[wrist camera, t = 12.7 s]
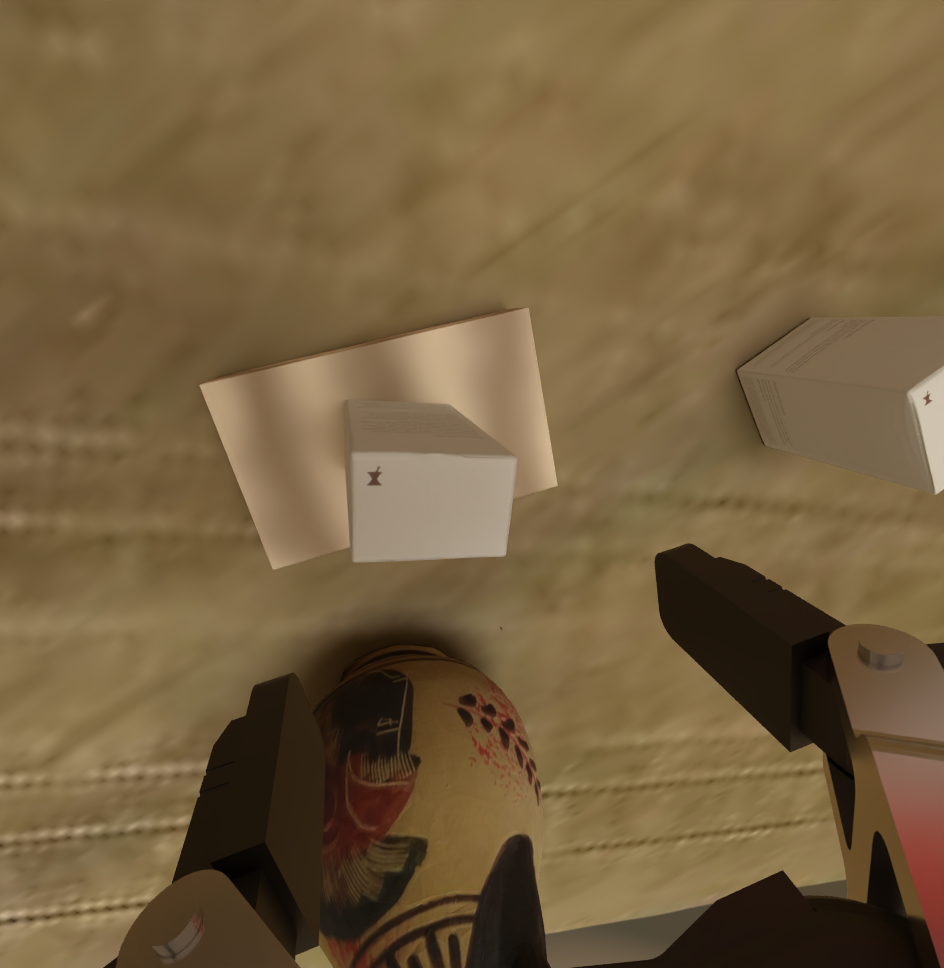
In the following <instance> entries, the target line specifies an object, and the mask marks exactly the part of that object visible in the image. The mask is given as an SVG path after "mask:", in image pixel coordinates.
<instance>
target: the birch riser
mask: <svg viewBox="0 0 944 968" xmlns="http://www.w3.org/2000/svg"><path fill="white" fill-rule="evenodd" d="M199 386H200V388H201V391H202V393H203V396H204V398H205V401H206V403H207V406H208V408H209V411H210V413H211V416H212V418H213V421H214V423H215V426H216V428H217V431H218V433H219V436H220V438H221V441H222V443H223V446H224V448H225V451H226V453H227V456H228V458H229V461H230V463H231V466H232V468H233V471H234V473H235V476H236V478H237V481H238V483H239V486H240V488H241V491H242V493H243V496H244V498H245V501H246V503H247V506H248V508H249V511H250V513H251V516H252V518H253V521H254V523H255V526H256V528H257V531H258V533H259V536H260V538H261V541H262V543H263V546H264V548H265V551H266V553H267V556H268V558H269V561H270V563H271V566H272V568H273V570H275V569H278V568H281V567H285V566H288V565H291V564H295V563H298V562H302V561H305V560H308V559H312V558H315V557H318V556H322V555H325V554H329V553H332V552H335V551H339V550H342V549H345V548H349V547H350V538H349V523H348V507H347V492H346V474H345V411H346V400H348V399H350V400H371V401H393V402H413V403H436V404H450V405H451V406H452V407H454V408H455V409H456V410H457V411H459V412H460V413H461V414H463V415H464V416H465V417H466V418H468V419H469V420H470V421H471V422H473V423H474V424H475V425H477V426H478V427H479V428H480V429H482V430H483V431H484V432H485V433H487V434H488V435H489V436H491V437H492V438H493V439H495V440H496V441H497V442H498V443H500V444H501V445H502V446H503V447H505V448H506V449H507V450H509V451H510V452H511V453H513V454H514V455H515V456H516V457H517V458H518V463H517V471H516V479H515V487H514V495H513V499H514V498H518V497H521V496H524V495H528V494H531V493H535V492H538V491H541V490H545V489H548V488H551V487H555V486H558V485H557V479H556V473H555V467H554V461H553V455H552V449H551V443H550V437H549V430H548V424H547V418H546V412H545V406H544V400H543V394H542V388H541V382H540V376H539V369H538V363H537V357H536V351H535V345H534V339H533V333H532V327H531V321H530V314H529V308H515V309H506V310H501V311H497V312H493V313H489V314H484V315H480V316H476V317H472V318H467V319H463V320H459V321H454V322H450V323H446V324H442V325H437V326H433V327H429V328H425V329H420V330H416V331H412V332H408V333H403V334H399V335H395V336H391V337H386V338H382V339H378V340H374V341H369V342H365V343H361V344H357V345H352V346H348V347H344V348H339V349H335V350H331V351H327V352H322V353H318V354H314V355H310V356H305V357H301V358H297V359H293V360H288V361H284V362H280V363H276V364H271V365H267V366H263V367H259V368H254V369H250V370H246V371H241V372H237V373H233V374H229V375H224V376H220V377H217V378H214V379H212V380H210V381H207V382H205V383H203V384H201V385H199Z"/></svg>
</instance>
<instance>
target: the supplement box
mask: <svg viewBox="0 0 944 968" xmlns="http://www.w3.org/2000/svg"><path fill="white" fill-rule="evenodd" d="M737 373H738V376H739V379H740V382H741V385H742V387H743V390H744V392H745V395H746V398H747V401H748V403H749V406H750V409H751V411H752V414H753V417H754V419H755V422H756V425H757V427H758V430H759V432H760V435H761V438H762V440H763V442H764V444H765V446H767V447H770V448H774V449H778V450H781V451H785V452H788V453H791V454H795V455H798V456H802V457H806V458H809V459H813V460H816V461H820V462H823V463H827V464H830V465H834V466H837V467H841V468H845V469H848V470H852V471H855V472H858V473H862V474H866V475H869V476H873V477H876V478H880V479H883V480H887V481H891V482H894V483H897V484H901V485H905V486H908V487H912V488H915V489H919V490H922V491H926V492H929V493H932V494H938V493H939V492H940V491H942V490H943V489H944V316H896V317H812V318H810V319H809V320H807V321H806V322H804V323H803V324H801V325H800V326H799V327H797V328H796V329H794V330H793V331H791V332H790V333H789V334H787V335H786V336H784V337H783V338H782V339H780V340H779V341H777V342H776V343H775V344H773V345H772V346H770V347H769V348H767V349H766V350H765V351H763V352H762V353H760V354H759V355H758V356H756V357H755V358H753V359H752V360H750V361H749V362H748V363H746V364H745V365H743V366H742V367H740V368H739V369H738V370H737Z"/></svg>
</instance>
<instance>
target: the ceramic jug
mask: <svg viewBox="0 0 944 968" xmlns="http://www.w3.org/2000/svg"><path fill="white" fill-rule="evenodd" d="M501 629H502V628H501ZM313 715H314V717H315V720H316V722H317V724H318V727H319V729H320V732H321V736H322V739H323V744H324V750H325V790H324V817H323V843H322V870H321V896H320V923H319V946H320V947H321V949H322V950H323V952H324V953H325V955H326V956H327V958H328V960H329V961H330V963H331V964H332V966H333V968H551V967H550V965H549V963H548V962H547V955H546V942H545V931H544V924H543V917H542V912H541V906H540V900H539V894H538V881H539V873H540V867H541V861H542V851H543V808H542V798H541V788H540V781H539V777H538V772H537V768H536V763H535V758H534V754H533V750H532V747H531V744H530V741H529V738H528V736H527V733H526V730H525V728H524V725H523V723H522V720H521V719H520V717H519V715H518V713H517V711H516V709H515V708H514V706H513V705H512V703H511V702H510V701H509V700H508V698H507V697H506V696H505V694H504V693H503V691H502V690H501V689H500V688H499V687H498V686H497V685H496V684H495V683H494V682H493V681H491V680H490V679H489V678H488V677H486V676H485V675H484V674H483V673H481V672H480V671H479V670H477V669H476V668H475V667H473V666H471V665H469V664H467V663H465V662H464V661H462V660H458V659H455V658H449V657H447V656H446V655H445V654H444V653H442V652H441V651H439V650H437V649H435V648H432V647H423V646H413V645H403V644H401V645H393V646H390V647H387V648H384V649H381V650H378V651H375V652H372V653H369V654H368V655H366V656H364V657H362V658H361V659H358V660H355V661H353V662H352V663H351V664H350V665H349V666H348V667H347V668H346V669H345V670H344V673H343V676H342V678H341V681H340V683H339V685H337V686H336V687H335V688H334V689H333V690H332V691H331V692H329V693H328V694H327V695H326V696H325V697H324V699H323V700H322V701H321V702H320V703H319V705H318V706H317V707H316V709H315V710H314V711H313Z"/></svg>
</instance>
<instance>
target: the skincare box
mask: <svg viewBox="0 0 944 968" xmlns="http://www.w3.org/2000/svg"><path fill="white" fill-rule="evenodd" d="M517 463H518V458H517V457H516V456H515V455H514V454H513V453H511V452H510V451H509V450H507V449H506V448H505V447H503V446H502V445H501V444H500V443H498V442H497V441H496V440H495V439H493V438H492V437H491V436H489V435H488V434H487V433H485V432H484V431H483V430H482V429H480V428H479V427H478V426H477V425H475V424H474V423H473V422H471V421H470V420H469V419H468V418H466V417H465V416H464V415H463V414H461V413H460V412H459V411H457V410H456V409H455V408H454V407H452V406H451V405H450V404H436V403H413V402H393V401H371V400H350V399H348V400H346V411H345V474H346V492H347V507H348V523H349V538H350V556H351V560H352V561H353V562H355V563H361V562H388V561H412V560H433V559H452V558H474V557H504V556H505V555H506V550H507V542H508V534H509V526H510V519H511V511H512V503H513V495H514V487H515V479H516V471H517Z"/></svg>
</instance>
